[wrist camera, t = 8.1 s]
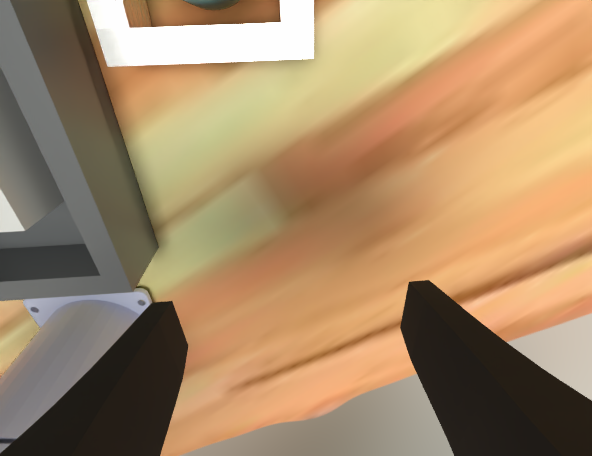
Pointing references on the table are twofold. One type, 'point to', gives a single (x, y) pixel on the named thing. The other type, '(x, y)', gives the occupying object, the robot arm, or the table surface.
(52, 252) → the case
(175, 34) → the white square frame
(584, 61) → the table surface
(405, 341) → the robot arm
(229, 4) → the teal cylinder
